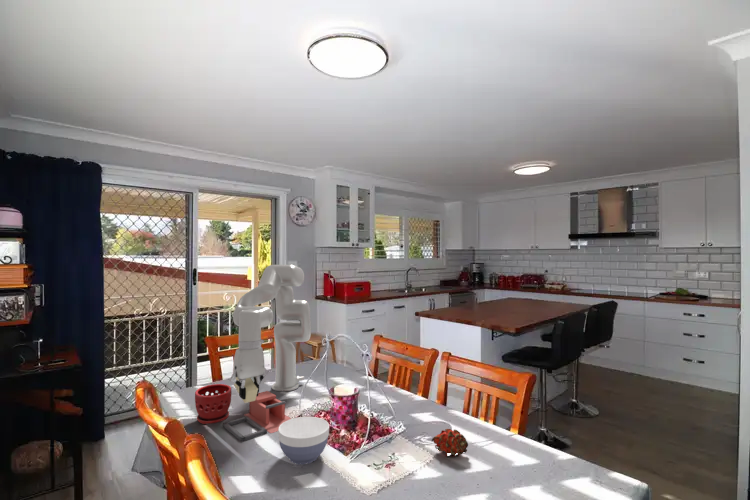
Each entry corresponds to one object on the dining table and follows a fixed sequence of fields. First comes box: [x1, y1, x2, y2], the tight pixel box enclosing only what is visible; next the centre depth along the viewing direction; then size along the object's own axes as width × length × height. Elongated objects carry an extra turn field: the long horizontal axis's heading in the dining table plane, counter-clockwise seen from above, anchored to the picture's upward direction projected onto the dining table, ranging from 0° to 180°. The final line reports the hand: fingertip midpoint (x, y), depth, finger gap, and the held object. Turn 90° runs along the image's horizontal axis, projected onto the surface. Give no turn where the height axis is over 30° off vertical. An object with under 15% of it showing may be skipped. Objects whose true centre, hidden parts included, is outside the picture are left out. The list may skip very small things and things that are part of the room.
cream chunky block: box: [233, 377, 258, 404], centre depth 142 cm, size 10×4×5 cm, turn 42°
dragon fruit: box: [431, 428, 469, 456], centre depth 128 cm, size 8×8×12 cm
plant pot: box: [194, 383, 232, 425], centre depth 153 cm, size 13×13×12 cm
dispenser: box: [243, 390, 292, 434], centre depth 152 cm, size 22×12×8 cm, turn 43°
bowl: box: [277, 416, 330, 465], centre depth 126 cm, size 16×16×10 cm
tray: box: [222, 416, 268, 442], centre depth 143 cm, size 9×16×2 cm, turn 43°
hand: (249, 396), depth 140 cm, fingers closed on cream chunky block, 4 cm apart
